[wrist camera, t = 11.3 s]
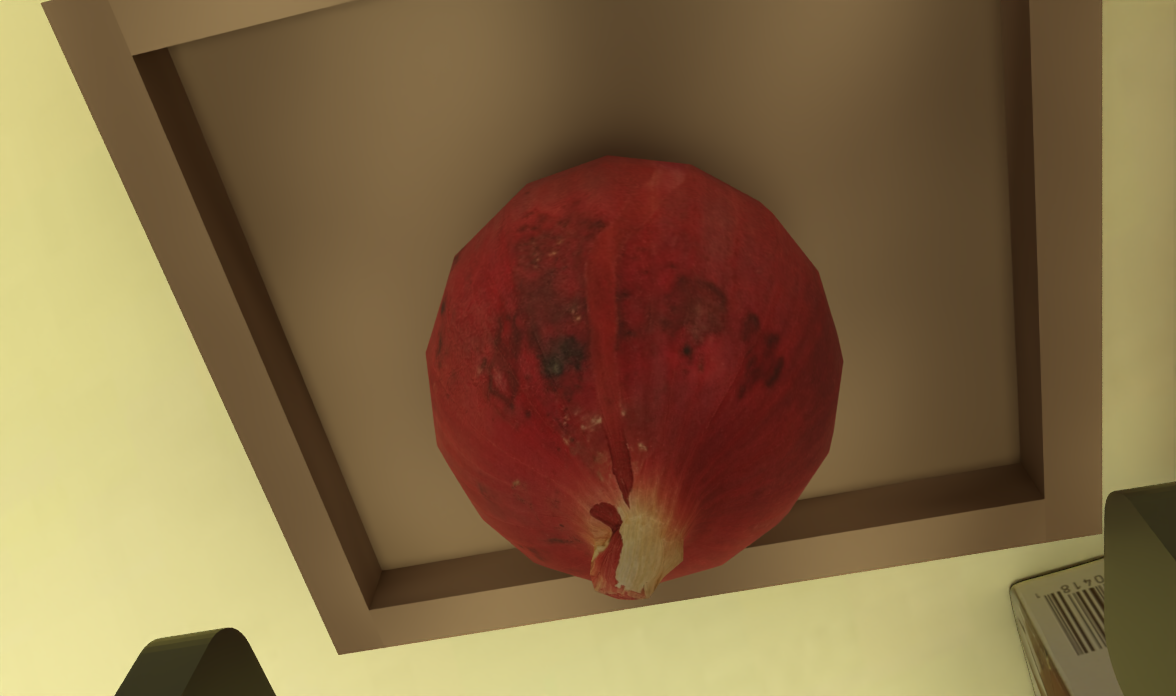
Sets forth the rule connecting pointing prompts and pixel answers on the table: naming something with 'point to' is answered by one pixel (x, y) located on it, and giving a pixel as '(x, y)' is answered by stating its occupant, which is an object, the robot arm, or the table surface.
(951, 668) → the table surface
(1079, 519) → the walnut tray
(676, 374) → the onion
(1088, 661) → the coffee box
